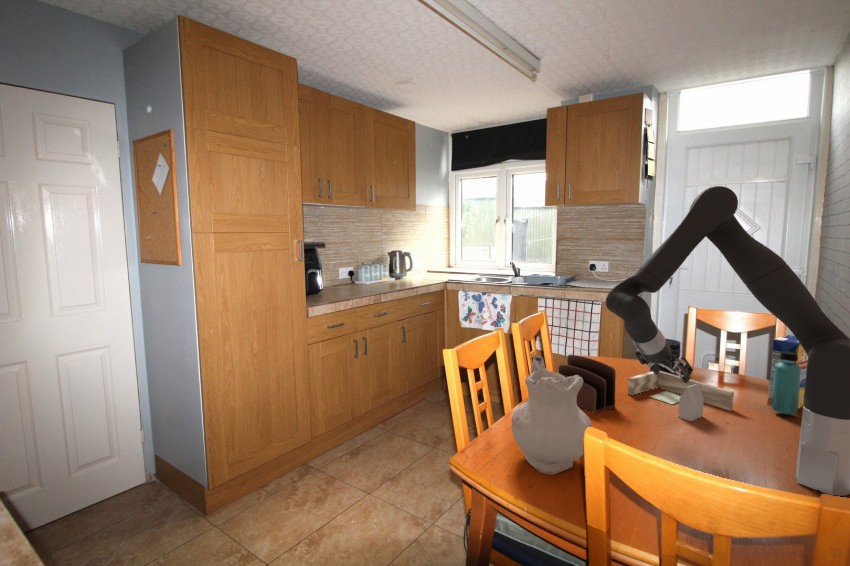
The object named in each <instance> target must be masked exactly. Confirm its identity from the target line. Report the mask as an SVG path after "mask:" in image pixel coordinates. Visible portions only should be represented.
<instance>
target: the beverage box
mask: <svg viewBox="0 0 850 566" xmlns="http://www.w3.org/2000/svg"><path fill="white" fill-rule="evenodd" d="M782 351H788V352H793V353H796V354H797V361H788V360H783V359H781V358H780V354H781V352H782ZM781 361H786V362H792V363H795V364H797V365H798V366H799V367H800V368H801V374H800V388H799V391H800V392H799V393H800V394H799V395H800V396H799V400H798V404H799V406H798V408H799V409H801V408H803V407H802V406H803V403H804V390H805V381H806V371H807V361H808V355H807V354H806V352H805V350H804V349H803V347H802V346H801V344H800V343H799V341H798V340H797V338H796V337H795V336H794V335H793V334H792V335H790V334H787V335H784V336H779V337H776V338H773V339H772V349H771V358H770V370H769V381H768V392H767V403H766V405H769V406H772V405H771V404H772V402H771V401H772V400H771V399H772V394H773V391H772V390H773V382H774V372H775V364H776V363H778V362H781ZM800 407H801V408H800Z"/></svg>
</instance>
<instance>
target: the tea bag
mask: <svg viewBox="0 0 850 566" xmlns="http://www.w3.org/2000/svg"><path fill="white" fill-rule="evenodd" d="M703 401H704V398H703V395H702V393H701V390H700V387H699V384H694V385H691V386H689V387H686V388H685V391H684V393H683V394H682V395H681V397H680V399H679V403H678V412H677V414H678V415H677V417H678V418H679V417H680V419H682V418H683V420H685V421H688V422H690V421H691V422H693V421H696V420H697V418H698V419H700V418H702V417H703V412H704V411H703V410H704V402H703Z"/></svg>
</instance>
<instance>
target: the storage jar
mask: <svg viewBox="0 0 850 566" xmlns="http://www.w3.org/2000/svg"><path fill="white" fill-rule="evenodd" d="M665 339H666V341H667V342H668V344H669V346H670V348H671V354H672V355H673V356H674V357H675V358H676V359H681V346H682V345H681V344H682V343H681V342H680V341H679V340H676V339H671V338H665ZM674 365H675V363H674V364H673V365H672V366H671V368H673V367H674ZM659 367H660V371H663V372H666V373H670V374H673V375H677V376H680V375H678V374H677V373H675V372H671V371H670V370H668V369H667V368H665V367H662V366H659ZM678 371H680V368H678ZM649 372H652V370H651V368H650V367H649Z"/></svg>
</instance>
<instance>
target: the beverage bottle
mask: <svg viewBox="0 0 850 566" xmlns="http://www.w3.org/2000/svg"><path fill="white" fill-rule="evenodd" d="M780 358H781V359H783V360H788V361H797V354H796V353H793V352H788V351H782V352H781V354H780ZM800 374H801V368H800V367H799V366H798V365H797V364H795V363H792V362H786V361H781V362H778V363H776V364H775V372H774V382H773V390H772V391H773V394H772V399H771V400H772V401H771V402H772V404H771V405H770V406H771V410H773V411H775V412H777V413H781V414H784V415H796V414H798V412H799V409H798V406H799V404H798V400H799V396H800V395H799V394H800V393H799V392H800V391H799V388H800Z"/></svg>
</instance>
